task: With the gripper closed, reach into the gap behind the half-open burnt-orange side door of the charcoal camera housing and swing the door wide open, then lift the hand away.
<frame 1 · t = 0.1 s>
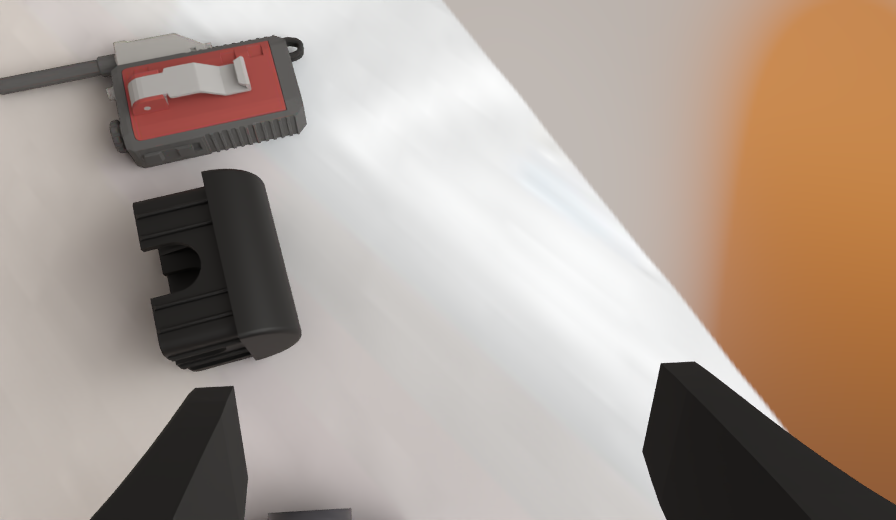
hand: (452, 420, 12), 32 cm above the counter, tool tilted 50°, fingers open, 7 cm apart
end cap: (233, 290, 46), on the counter
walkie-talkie: (166, 111, 50), on the counter
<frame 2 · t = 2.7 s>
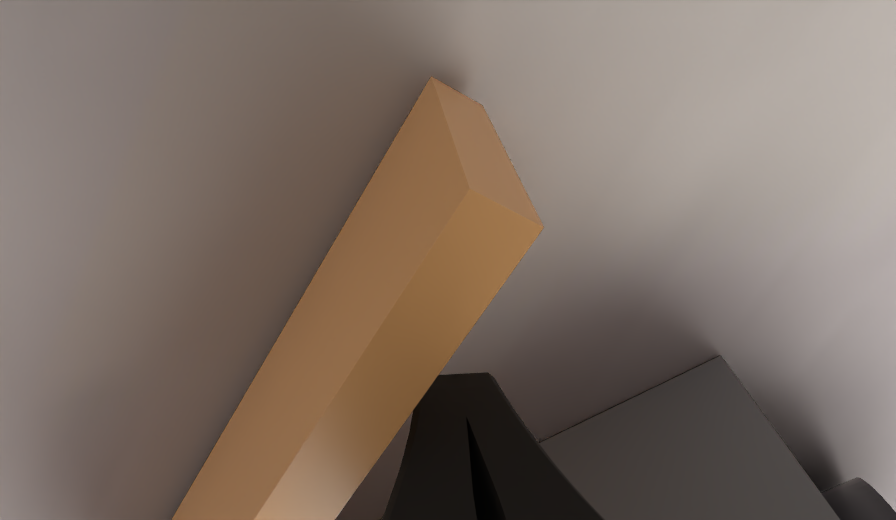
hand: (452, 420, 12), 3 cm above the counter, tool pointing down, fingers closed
side door: (263, 475, 13), point 3 cm above the counter, hinge at 30.0°, touching gripper
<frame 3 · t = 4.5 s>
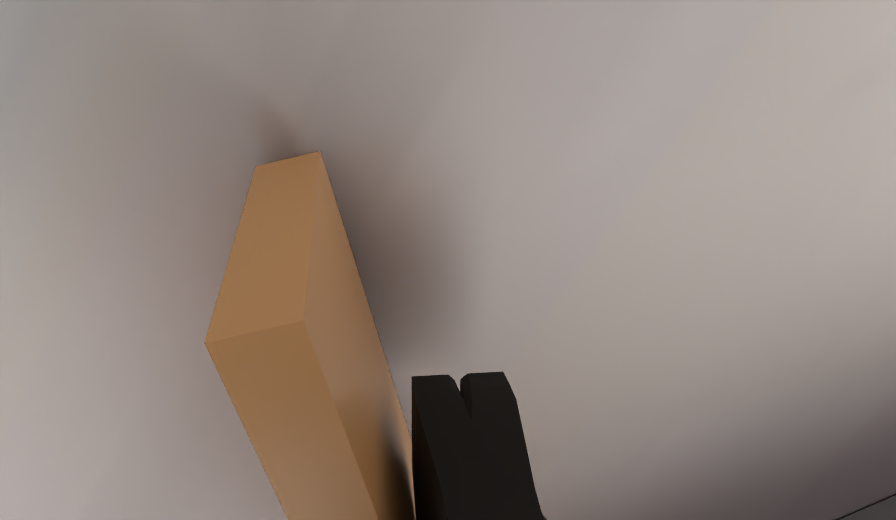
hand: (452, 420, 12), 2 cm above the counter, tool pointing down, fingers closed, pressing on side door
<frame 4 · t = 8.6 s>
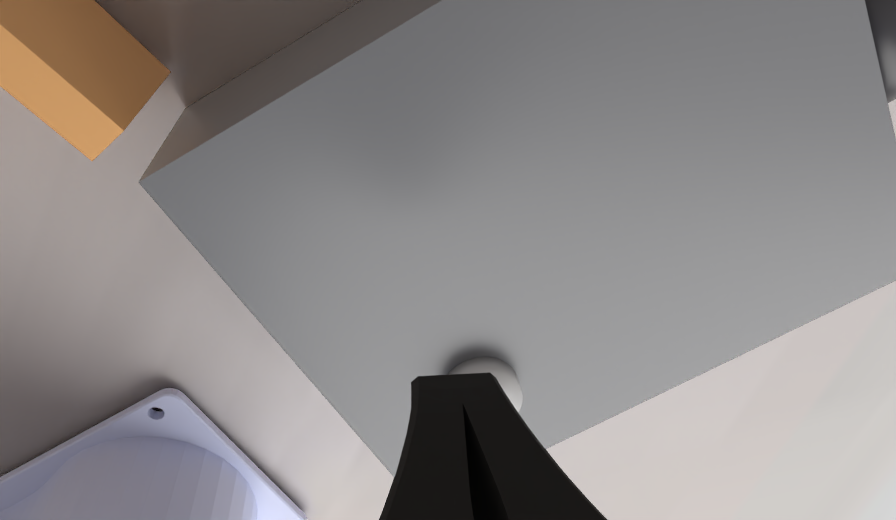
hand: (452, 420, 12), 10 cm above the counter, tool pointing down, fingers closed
camera housing: (527, 151, 21), on the counter
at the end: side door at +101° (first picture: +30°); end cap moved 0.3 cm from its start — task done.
